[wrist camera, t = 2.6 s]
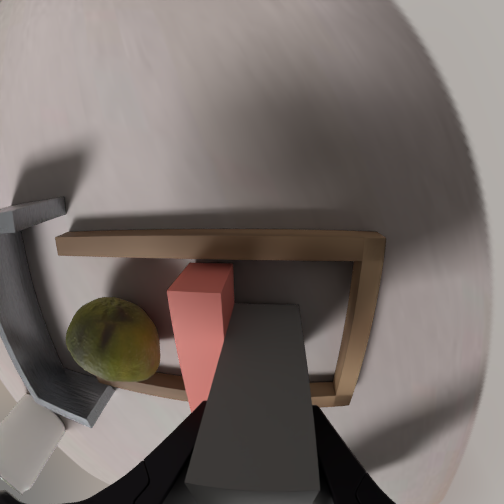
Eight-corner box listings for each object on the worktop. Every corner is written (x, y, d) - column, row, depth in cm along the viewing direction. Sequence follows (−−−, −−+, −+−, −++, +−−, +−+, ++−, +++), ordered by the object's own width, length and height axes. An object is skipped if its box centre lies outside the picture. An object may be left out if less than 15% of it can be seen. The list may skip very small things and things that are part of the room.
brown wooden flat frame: (345, 391, 15) (349, 405, 13) (106, 372, 16) (98, 382, 15) (376, 231, 12) (386, 238, 10) (68, 231, 13) (55, 237, 12)
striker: (291, 380, 14) (294, 529, 6) (203, 376, 14) (160, 514, 6) (301, 264, 12) (340, 450, 3) (189, 262, 12) (75, 413, 4)
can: (24, 383, 19) (-29, 448, 8) (68, 420, 20) (22, 495, 8) (27, 404, 21) (-16, 461, 9) (65, 436, 22) (27, 499, 10)
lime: (182, 345, 14) (152, 410, 10) (117, 350, 15) (79, 402, 10) (152, 273, 13) (101, 325, 8) (87, 287, 14) (33, 330, 9)
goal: (114, 391, 16) (91, 428, 13) (59, 373, 17) (35, 402, 13) (64, 196, 12) (12, 210, 8) (10, 205, 13) (-32, 219, 9)
